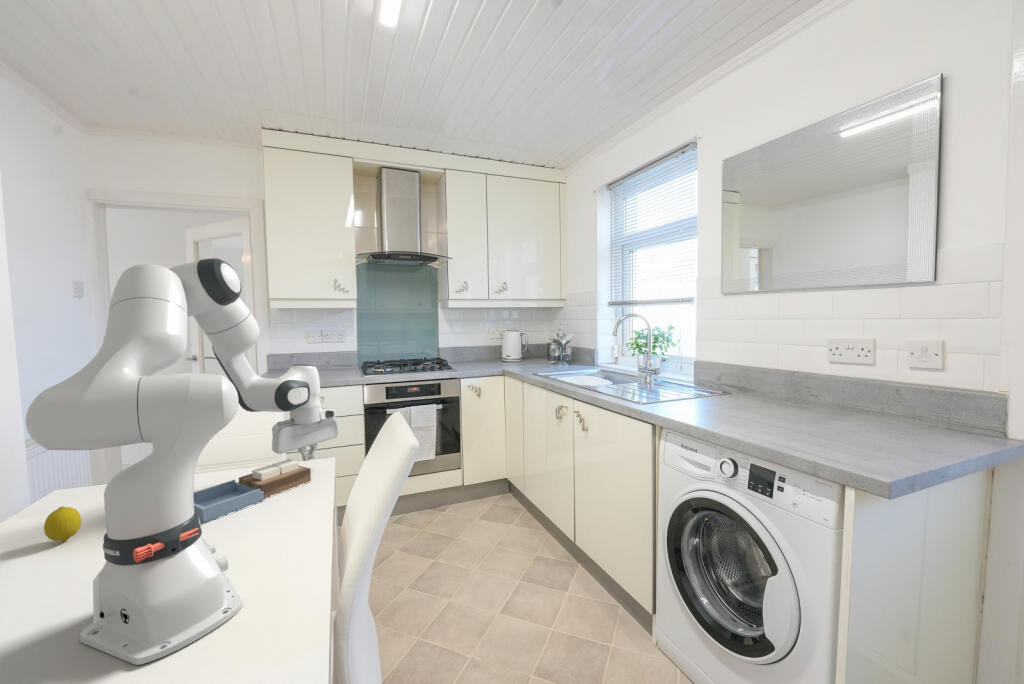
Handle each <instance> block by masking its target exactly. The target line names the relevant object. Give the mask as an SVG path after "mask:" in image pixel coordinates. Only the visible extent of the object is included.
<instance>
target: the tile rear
mask: <svg viewBox="0 0 1024 684" xmlns="http://www.w3.org/2000/svg"><path fill="white" fill-rule="evenodd" d="M271 465H272V466H276V467H279V468H280V473H281V474H283V473H286V472H289V471H292V470H295V469H298V468H299V467H298V465H299V461H296V460H293V459H289V458H287V459H286V460H282V461H278V462H275V463H272V464H271Z"/></svg>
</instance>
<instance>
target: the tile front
mask: <svg viewBox="0 0 1024 684" xmlns="http://www.w3.org/2000/svg"><path fill="white" fill-rule="evenodd" d="M251 472H252V473H251V474H252V475H253V478H256V479H259V480H265V479H268V478H271V477H274V476H277V475H280V468H279V467H276V466H272V464H269V465H265V466H261V467H260V468H259V467H258V468H256V469H252V470H251Z"/></svg>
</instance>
